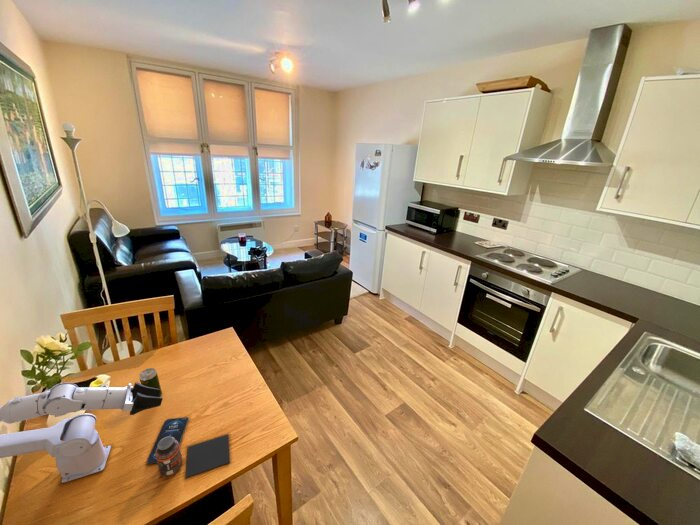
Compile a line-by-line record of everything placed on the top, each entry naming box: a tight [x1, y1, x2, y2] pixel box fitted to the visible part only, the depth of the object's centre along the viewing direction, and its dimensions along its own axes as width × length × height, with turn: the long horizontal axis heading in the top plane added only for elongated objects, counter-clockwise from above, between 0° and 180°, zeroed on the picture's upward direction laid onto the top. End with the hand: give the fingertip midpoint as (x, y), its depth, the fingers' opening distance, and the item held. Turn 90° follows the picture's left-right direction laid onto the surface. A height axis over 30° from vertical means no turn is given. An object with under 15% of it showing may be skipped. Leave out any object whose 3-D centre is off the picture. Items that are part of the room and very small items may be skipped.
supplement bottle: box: [155, 436, 184, 477], centre depth 84 cm, size 6×6×11 cm
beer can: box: [139, 367, 163, 398], centre depth 107 cm, size 5×5×12 cm
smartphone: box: [146, 416, 189, 465], centre depth 94 cm, size 8×1×15 cm
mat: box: [185, 434, 231, 479], centre depth 90 cm, size 12×10×1 cm
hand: (160, 397), depth 89 cm, fingers open, 7 cm apart
